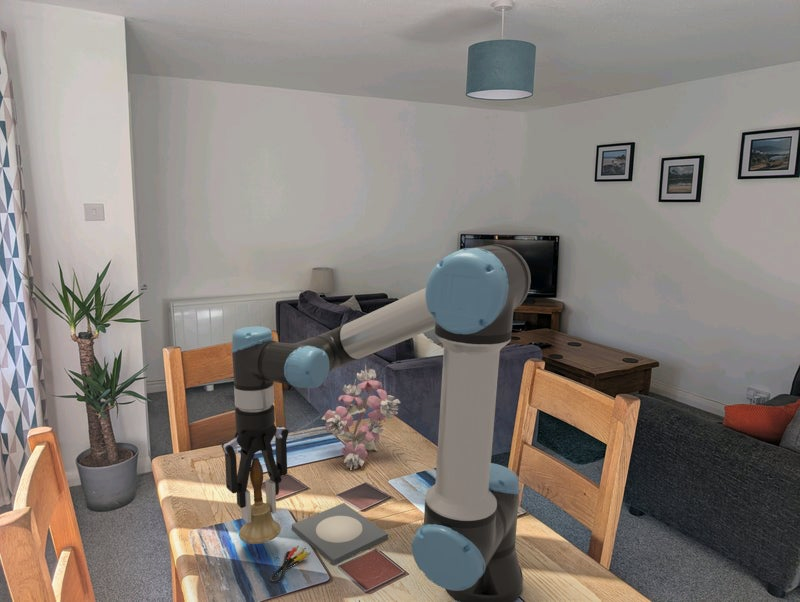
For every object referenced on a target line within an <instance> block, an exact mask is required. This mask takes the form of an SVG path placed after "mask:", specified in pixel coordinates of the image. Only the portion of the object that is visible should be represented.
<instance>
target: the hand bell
mask: <svg viewBox="0 0 800 602" xmlns="http://www.w3.org/2000/svg"><path fill="white" fill-rule="evenodd" d="M249 478H250V482H251V483H250V484H251V485H252V487H253V504H251V523H247V522H246V521H245V523H244V524H243V525H242V527H241V528H240V529H239V533H238V536H239V539H240V540H241V541H242V542H244V543H247V544H251V545H258V544H265V543H268V542H270V541H273V540H274V539H275V538H277V537H278V536H279V535H280V533H281V531H282V529H281V528H282V527H281V525H280V524H279V522H278V521H276V520H275V519H274V517H273V515H272V514H273V513H271V510H270V506H269V505H268V504H267V503H266V502H264V500H263V499H264V498H263V493H262V492H263V491H262V485H263V484H264V483H263V481H264V470H263V466H262V463H261V461H260V458H259V457H254V458H253V459H252V463H251V468H250V474H249Z"/></svg>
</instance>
